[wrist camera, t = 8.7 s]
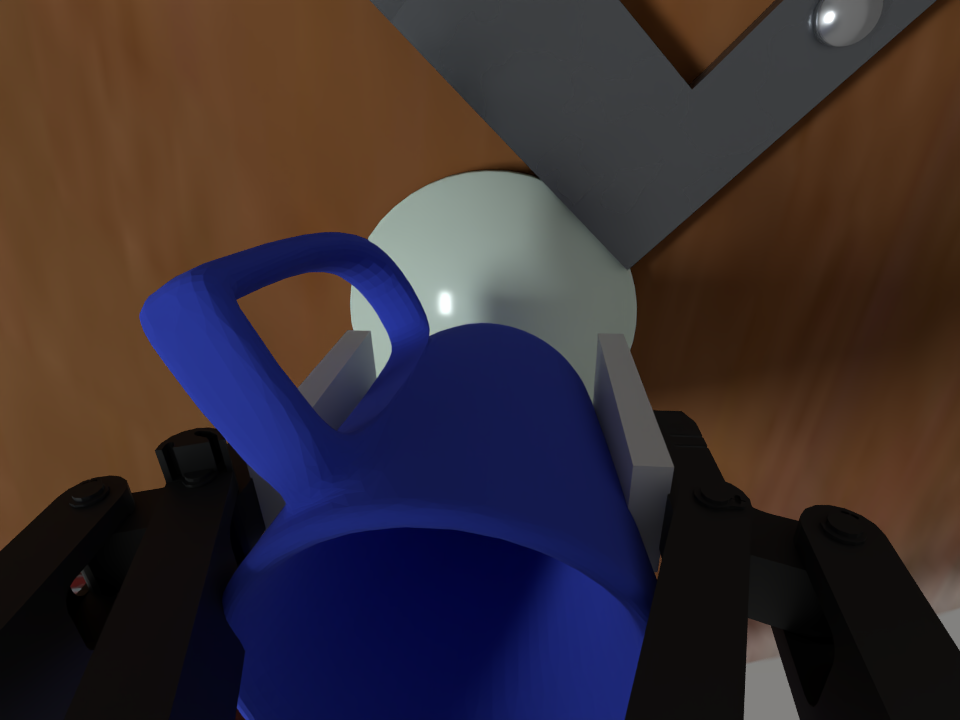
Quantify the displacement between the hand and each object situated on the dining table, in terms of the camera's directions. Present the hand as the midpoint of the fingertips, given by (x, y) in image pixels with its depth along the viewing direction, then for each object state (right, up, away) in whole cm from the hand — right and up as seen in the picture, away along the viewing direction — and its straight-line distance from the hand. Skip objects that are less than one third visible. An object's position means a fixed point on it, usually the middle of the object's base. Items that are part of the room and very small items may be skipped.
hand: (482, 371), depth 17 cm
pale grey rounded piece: (0, +2, +4) cm, 5 cm away
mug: (-1, 0, +1) cm, 1 cm away
